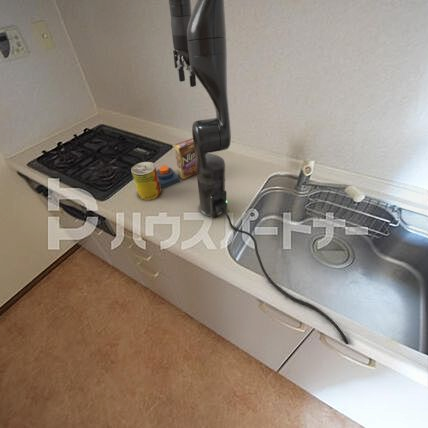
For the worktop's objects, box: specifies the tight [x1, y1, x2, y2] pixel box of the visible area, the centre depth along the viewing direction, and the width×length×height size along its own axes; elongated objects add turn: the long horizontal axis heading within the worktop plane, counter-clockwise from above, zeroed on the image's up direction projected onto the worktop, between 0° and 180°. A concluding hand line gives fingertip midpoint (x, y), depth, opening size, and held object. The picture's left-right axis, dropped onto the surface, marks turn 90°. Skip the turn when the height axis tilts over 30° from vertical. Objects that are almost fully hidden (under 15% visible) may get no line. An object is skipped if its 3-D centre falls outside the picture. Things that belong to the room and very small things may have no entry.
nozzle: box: [158, 165, 170, 175], centre depth 100 cm, size 4×4×2 cm
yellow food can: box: [130, 160, 162, 201], centre depth 93 cm, size 9×9×12 cm
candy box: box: [174, 137, 197, 180], centre depth 100 cm, size 9×4×15 cm, turn 123°
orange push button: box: [156, 167, 180, 189], centre depth 102 cm, size 10×8×4 cm
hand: (187, 83), depth 93 cm, fingers open, 8 cm apart
